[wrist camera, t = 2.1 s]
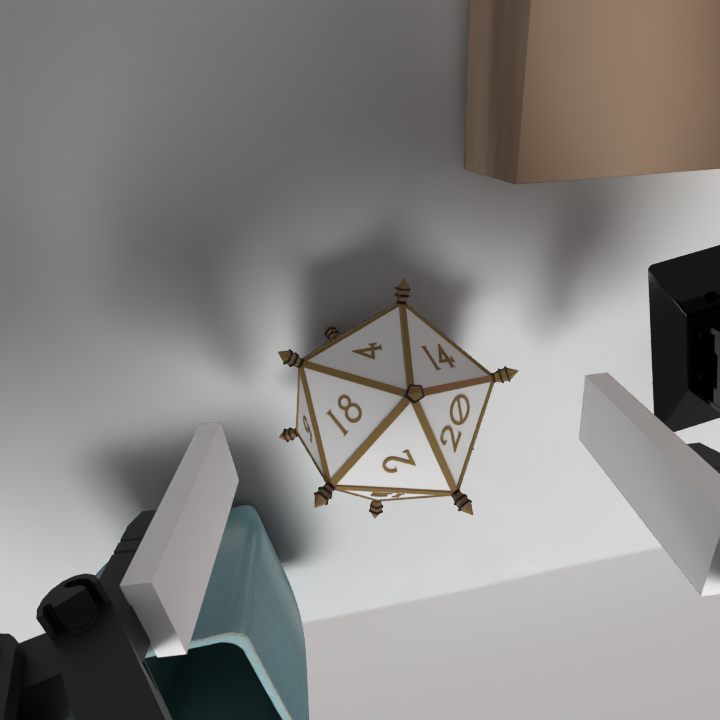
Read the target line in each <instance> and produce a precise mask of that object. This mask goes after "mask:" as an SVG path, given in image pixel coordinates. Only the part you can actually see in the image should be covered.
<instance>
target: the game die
mask: <svg viewBox="0 0 720 720" xmlns="http://www.w3.org/2000/svg"><path fill="white" fill-rule="evenodd" d="M395 289H397V291H396V294H395V295H396V297H397V302H396V303H395V304H393V305H392V306H390V307H388V308H386V309H385V310H383V311H381V312H379V313H378V314H376V315H374V316H372V317H371V318H369V319H367V320H365V321H363V322H362V323H360V324H358V325H356V326H355V327H353V328H351V329H349V330H348V331H346V332H344V333H342V334H341V335H339V336H338V331H336V328H335V327H333V328H331V327H326V331H325V333H324V334H325V335H326V336H327V338H328V339H329V340H331V341H329V342H328V343H326V344H324V345H323V346H321V347H320V348H318V349H317V350H315V351H314V352H312V353H310V354H309V355H307V356H306V357H304V358H303V359H302V358H300V357H299V355H298V354H297V353H296V352H295V353H293V351H292V350H290V349H289V351H281V352H278V353H279V355H280V357H281V358H282V360H283V364H284V365H285V364H288V365H289V367H292V366H295V367H297V368H298V392H297V417H296V428H295V429H292V428H289V429H284V431H283V433H282V434H281V435H280V437H279V438H281V439H284V440H286V441H287V442H289V440H294V439H295V438H296V437H299V438H300V440H301V442H302V444H303V445H304V447H305V449H306V450H307V452H308V454H309V455H310V457H311V459H312V460H313V462H314V464H315V465H316V467H317V469H318V470H319V472H320V474H321V476H322V477H323V479H324V481H325V482H326V484H325V485H324V486H323V487H319V488H318V489H319V490H318V492H315V493H314V495H315V507H318V506H321V505H324V504H326V505H327V504H328V500H329V499H331V498H332V491H334V490H337V491H341V492H345V493H348V494H352V495H356V496H359V497H363V498H367V499H370V500H373V501H372V502H371V505H370V510H369V512H371V513H372V515H373V517H374V518H376V517H377V516H378V515H379V514H380V513H382V512H383V511H382V507H383V505H382V504H381V501H389V500H403V499H416V498H429V497H442V496H452V497H453V499H454V502H455V503H454V505H457V507H458V508H459V509H458V511H463V512H466V513H468V514H471V515H473V511H472V505H471V502H472V501H471V500H469V499H468V498H467V495H466V494H462V493H461V492H460V486H461V483H462V480H463V477H464V474H465V471H466V468H467V465H468V462H469V459H470V456H471V452H472V450H474V448H473V446H474V443H475V440H476V437H477V434H478V431H479V428H480V425H481V422H482V419H483V416H484V412H485V409H486V406H487V403H488V400H489V397H490V394H491V391H492V388H493V385H494V383H495V382H502V383H504V381H509V382H510V380H511V378H512V377H513V376H514V375H515V374H516V373H517V372H518V371H517V370H513V369H509V368H506V366H505V367H504V368H503V369H498V371H496V372H495V373H490V372H489V371H488V370H487V369H485V368H484V367H483V366H482V365H480V364H479V363H478V362H477V361H476V360H474V359H473V358H472V357H471V356H469V355H468V354H467V353H466V352H465V351H463V350H462V349H461V348H460V347H458V346H457V345H456V344H455V343H454V342H452V341H451V340H450V339H449V338H447V337H446V336H445V335H444V334H443V333H441V332H440V331H439V330H438V329H436V328H435V327H434V326H433V325H432V324H430V323H429V322H428V321H427V320H425V319H424V318H423V317H422V316H421V315H419V314H418V313H417V312H416V311H414V310H413V309H412V308H411V307H410V306H408V305H407V304H406V300H407V298H408V297H409V295H408V294H409V291H410V290H411V289H410V288H409V286H408V284H407V282H406V279H405V278H404V279H403V280H402V282H401V283H400V284H399V285H398V287H395ZM315 507H314V508H315Z"/></svg>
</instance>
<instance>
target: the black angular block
mask: <svg viewBox="0 0 720 720" xmlns="http://www.w3.org/2000/svg"><path fill="white" fill-rule="evenodd" d="M648 279H649V303H650V327H651V351H652V375H653V399H654V415H655V416H656V417H657V418H658V419H659V420H660V421H661V422H663V423H664V424H665V425H666V426H667V427H668V428H669V429H670V430H671V431H673V432H676V431H679V430H682V429H685V428H688V427H692V426H695V425H698V424H701V423H704V422H708V421H711V420H714V419H717V418H720V245H718V246H715V247H711V248H708V249H705V250H701V251H698V252H694V253H691V254H687V255H684V256H680V257H677V258H674V259H670V260H667V261H663V262H660V263H656V264H653V265H651V266H650V267H649V269H648Z"/></svg>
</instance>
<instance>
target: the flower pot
mask: <svg viewBox="0 0 720 720" xmlns="http://www.w3.org/2000/svg"><path fill="white" fill-rule="evenodd" d="M106 565H107V563H106V564H105V565H104V566H103V567H102V569H101V570H100V571H99V572H98V573H97V574H96V575H95V576H96V577H97V578H98V579H99V578H100V576H101V574H102V572H103V571H104V569H105V567H106ZM144 661H145V663H146V664H147V666H148V668H149V670H150V673H151V675H152V677H153V679H154V681H155V683H156V685H157V687H158V690H159V692H160V694H161V696H162V698H163V700H164V702H165V704H166V707H167V709H168V711H169V713H170V715H171V717H172V719H173V720H309V707H308V686H307V665H306V650H305V639H304V633H303V627H302V622H301V617H300V613H299V609H298V606H297V603H296V600H295V597H294V594H293V591H292V588H291V586H290V583H289V581H288V578H287V576H286V574H285V572H284V569H283V567H282V565H281V563H280V561H279V559H278V556H277V554H276V552H275V550H274V548H273V546H272V543H271V541H270V539H269V537H268V535H267V532H266V530H265V528H264V526H263V524H262V521H261V519H260V517H259V515H258V513H257V511H256V509H255V508H254V507H253V506H251V505H241V506H236V507H232V508H231V509H230V512H229V516H228V519H227V522H226V525H225V529H224V532H223V535H222V539H221V542H220V545H219V549H218V552H217V555H216V559H215V562H214V565H213V569H212V572H211V575H210V578H209V582H208V585H207V588H206V592H205V595H204V598H203V602H202V605H201V608H200V612H199V615H198V618H197V622H196V625H195V628H194V631H193V635H192V638H191V641H190V645H189V648H188V651H187V654H184V655H175V656H166V657H157V655H156V654H155V652H154V650H153V648H152V646H151V644H150V646H149V649H148V651H147V654H146V657H145V659H144ZM67 720H74V717H71V718H69V719H67Z"/></svg>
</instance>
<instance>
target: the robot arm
mask: <svg viewBox="0 0 720 720" xmlns="http://www.w3.org/2000/svg"><path fill="white" fill-rule="evenodd" d="M579 439H580V441H581V442H582V443H583V445H584V446H585V447H586V448H587V450H588V451H589V452H590V454H591V455H592V456H593V458H594V459H595V460H596V461H597V463H598V464H599V465H600V467H601V468H602V469H603V470H604V472H605V473H606V474H607V476H608V477H609V478H610V479H611V481H612V482H613V483H614V485H615V486H616V487H617V489H618V490H619V491H620V492H621V494H622V495H623V496H624V498H625V499H626V500H627V501H628V503H629V504H630V505H631V507H632V508H633V509H634V511H635V512H636V513H637V514H638V516H639V517H640V518H641V520H642V521H643V522H644V523H645V525H646V526H647V527H648V529H649V530H650V531H651V532H652V534H653V535H654V536H655V538H656V539H657V540H658V542H659V543H660V544H661V545H662V547H663V548H664V549H665V551H666V552H667V553H668V554H669V556H670V557H671V558H672V560H673V561H674V562H675V563H676V565H677V566H678V567H679V569H680V570H681V571H682V573H683V574H684V575H685V576H686V578H687V579H688V580H689V581H690V583H691V584H692V585H693V587H694V588H695V589H696V591H697V592H698V593H699V594H700V596H708V595H717V594H720V453H719V452H717V451H715V450H713V449H711V448H709V447H707V446H705V445H703V444H701V443H692V444H686V443H685V442H684V441H683V440H681V439H680V438H679V437H678V436H677V435H676V434H675V433H674V432H673V431H671V430H670V429H669V428H668V427H667V426H666V425H665V424H664V423H663V422H661V421H660V420H659V419H658V418H657V417H656V416H655V415H654V414H653V413H651V412H650V411H649V410H648V409H647V408H646V407H645V406H644V405H643V404H642V403H640V402H639V401H638V400H637V399H636V398H635V397H634V396H633V395H632V394H630V393H629V392H628V391H627V390H626V389H625V388H624V387H623V386H622V385H620V384H619V383H618V382H617V381H616V380H615V379H614V378H613V377H612V376H611V375H609V374H608V373H599V374H591V375H585V384H584V394H583V403H582V413H581V423H580V433H579ZM238 482H239V478H238V475H237V472H236V469H235V466H234V462H233V459H232V456H231V453H230V450H229V447H228V443H227V440H226V437H225V434H224V431H223V427H222V424H221V421H220V422H212V423H204V424H200V425H199V427H198V429H197V431H196V433H195V435H194V437H193V439H192V441H191V443H190V445H189V447H188V449H187V451H186V453H185V455H184V457H183V459H182V461H181V463H180V465H179V467H178V469H177V471H176V473H175V475H174V477H173V479H172V481H171V483H170V485H169V487H168V489H167V491H166V493H165V495H164V497H163V499H162V501H161V503H160V505H159V507H158V509H157V510H150V511H142V512H141V513H140V514H139V515H138V516H137V517H136V518H135V519H134V520H133V521H132V522H131V523H130V524H129V525H128V527H127V529H126V531H125V532H124V534H123V536H122V538H121V542H120V543H118V545H117V547H116V549H115V551H114V555H112V556H111V558H110V560H109V562H108V563H107V565H106V567H105V569H104V571H103V572H102V574H101V576H100V578H99V579H98V578H97V577H96V576H95V575H92V574H81V575H76V576H73V577H71V578H69V579H67V580H65V581H63V582H61V583H60V584H59V585H57V586H56V587H55V588H53V589H52V590H51V591H50V592H49V593H48V594H47V595H46V596H45V597H44V598H43V599H42V601H41V603H40V605H39V607H38V609H37V617H36V619H37V620H38V622H39V623H40V624H41V626H42V627H43V629H44V630H45V632H46V633H44V634H42V635H39V636H37V637H34V638H32V639H29V640H27V641H24V642H21V643H18V642H17V640H16V639H15V638H14V637H13V636H11V635H10V634H0V720H67V719H69V718H71V717H74V720H173V719H172V717H171V715H170V713H169V711H168V709H167V707H166V704H165V702H164V700H163V698H162V696H161V694H160V692H159V690H158V687H157V685H156V683H155V681H154V679H153V677H152V675H151V673H150V670H149V668H148V666H147V664H146V663H145V661H144V659H145V657H146V654H147V651H148V649H149V646H150V644H151V646H152V648H153V650H154V652H155V654H156V655H157V657H166V656H175V655H184V654H187V651H188V648H189V645H190V641H191V638H192V635H193V631H194V628H195V625H196V622H197V618H198V615H199V612H200V608H201V605H202V602H203V598H204V595H205V592H206V588H207V585H208V582H209V578H210V575H211V572H212V569H213V565H214V562H215V559H216V555H217V552H218V549H219V545H220V542H221V539H222V535H223V532H224V529H225V525H226V522H227V519H228V516H229V512H230V509H231V506H232V502H233V499H234V496H235V492H236V489H237V486H238Z"/></svg>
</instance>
